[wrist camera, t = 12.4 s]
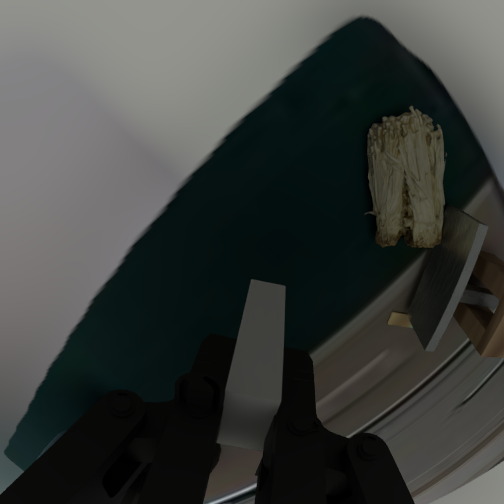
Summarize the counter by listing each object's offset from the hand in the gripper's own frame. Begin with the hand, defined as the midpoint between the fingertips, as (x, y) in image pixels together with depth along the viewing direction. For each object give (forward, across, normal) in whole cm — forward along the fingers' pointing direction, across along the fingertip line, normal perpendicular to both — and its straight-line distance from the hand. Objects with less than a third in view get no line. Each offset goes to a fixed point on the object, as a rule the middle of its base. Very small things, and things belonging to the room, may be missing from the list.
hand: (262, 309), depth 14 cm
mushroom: (+21, +12, +6) cm, 25 cm away
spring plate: (+19, +23, -2) cm, 30 cm away
